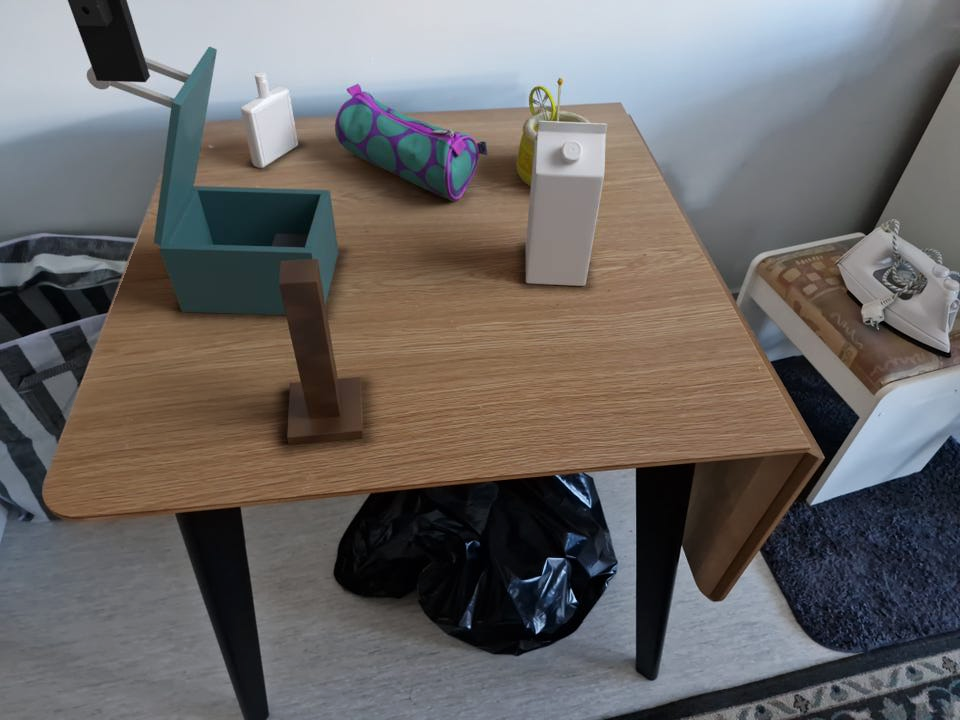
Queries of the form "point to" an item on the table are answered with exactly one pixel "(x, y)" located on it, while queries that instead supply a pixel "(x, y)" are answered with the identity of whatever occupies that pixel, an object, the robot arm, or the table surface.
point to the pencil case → (408, 145)
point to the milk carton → (564, 201)
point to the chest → (245, 246)
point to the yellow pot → (531, 129)
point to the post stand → (316, 363)
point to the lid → (176, 131)
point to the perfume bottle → (269, 123)
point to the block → (290, 240)
